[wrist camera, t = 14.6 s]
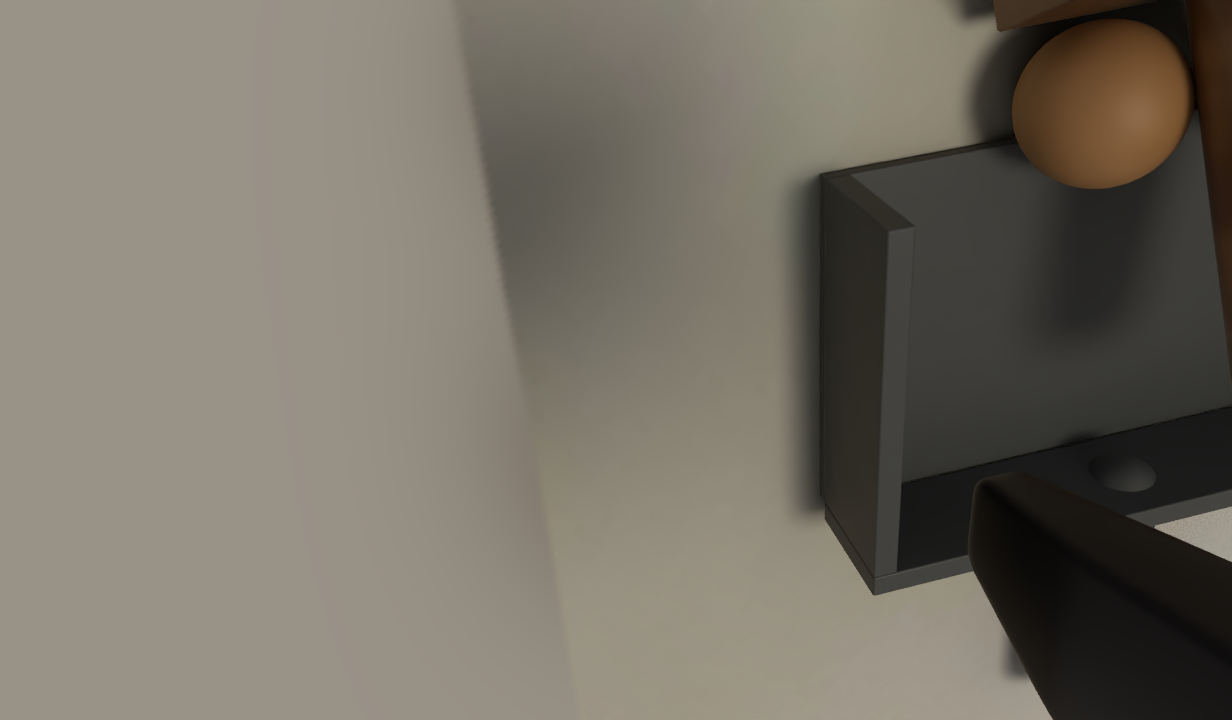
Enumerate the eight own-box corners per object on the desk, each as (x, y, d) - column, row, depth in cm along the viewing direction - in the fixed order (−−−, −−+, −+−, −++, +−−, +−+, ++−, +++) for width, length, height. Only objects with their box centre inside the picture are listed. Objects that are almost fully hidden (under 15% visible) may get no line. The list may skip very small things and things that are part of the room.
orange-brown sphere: (1007, 37, 19) (991, 204, 21) (1209, 38, 18) (1176, 219, 19) (1033, 5, 22) (1017, 156, 23) (1211, 3, 20) (1182, 165, 22)
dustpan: (820, 174, 22) (887, 231, 19) (1418, 61, 24) (1559, 98, 21) (819, 732, 32) (863, 824, 29) (1245, 617, 34) (1326, 693, 31)
